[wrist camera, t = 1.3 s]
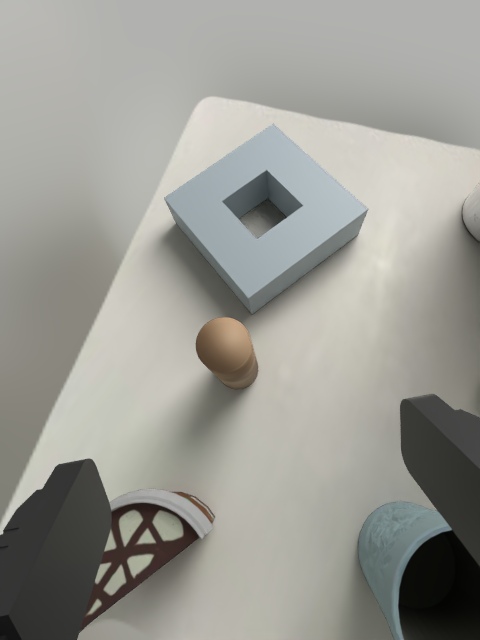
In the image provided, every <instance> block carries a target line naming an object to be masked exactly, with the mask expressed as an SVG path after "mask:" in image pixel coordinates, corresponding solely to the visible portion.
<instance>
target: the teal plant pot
mask: <svg viewBox="0 0 480 640" xmlns="http://www.w3.org/2000/svg"><path fill="white" fill-rule="evenodd" d="M358 554H359V561H360V564H361V568H362V571H363V573H364V575H365V578H366V580H367V582H368V584H369V586H370V588H371V590H372V592H373V594H374V595H375V597H376V599H377V601H378V603H379V606H380V608H381V610H382V612H383V614H384V616H385V618H386V620H387V622H388V624H389V627H390V630H391V633H392V635H393V638H394V640H480V566H479V565H478V563H477V562H476V561H475V559H474V558H473V557H472V555H471V554H470V553H469V551H468V550H467V549H466V547H465V546H464V545H463V543H462V542H461V541H460V539H459V538H458V537H457V535H456V534H455V533H454V531H453V530H452V529H451V527H450V526H449V525H448V524H447V522H446V521H445V520H444V518H443V517H442V516H441V514H440V513H439V512H438V511H433V510H430V509H428V508H425V507H422V506H419V505H416V504H413V503H408V502H393V503H389V504H386V505H383V506H381V507H379V508H378V509H376V510H375V511H374V512H373V513H372V514H371V515H370V516H369V517H368V518H367V520H366V521H365V523H364V525H363V527H362V530H361V532H360V537H359V543H358Z"/></svg>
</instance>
